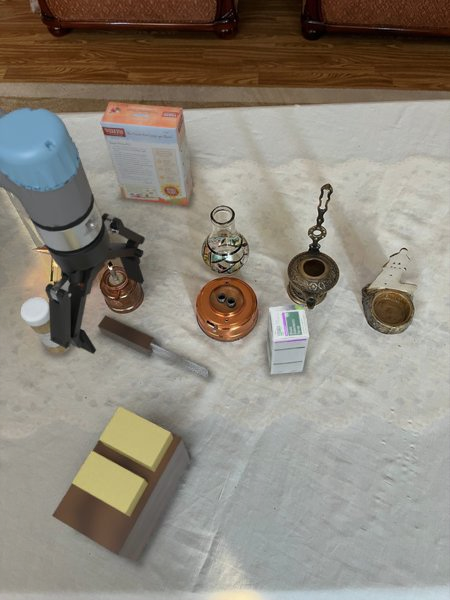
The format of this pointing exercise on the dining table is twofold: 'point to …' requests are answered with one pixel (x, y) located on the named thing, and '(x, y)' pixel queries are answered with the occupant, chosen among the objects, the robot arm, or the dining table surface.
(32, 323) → the sprinkles bottle
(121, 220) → the robot arm
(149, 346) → the knife
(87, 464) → the butter slice
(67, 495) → the butter stand
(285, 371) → the syrup box
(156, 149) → the cracker box
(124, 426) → the butter block
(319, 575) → the dining table surface
